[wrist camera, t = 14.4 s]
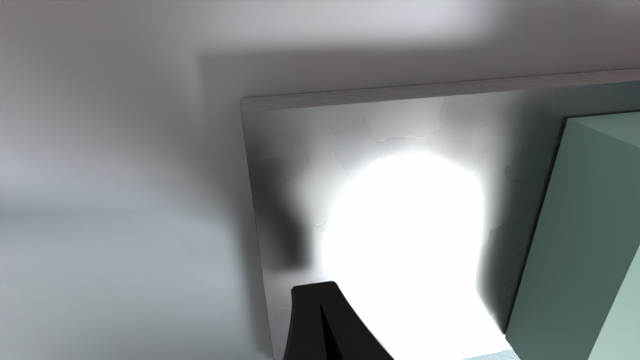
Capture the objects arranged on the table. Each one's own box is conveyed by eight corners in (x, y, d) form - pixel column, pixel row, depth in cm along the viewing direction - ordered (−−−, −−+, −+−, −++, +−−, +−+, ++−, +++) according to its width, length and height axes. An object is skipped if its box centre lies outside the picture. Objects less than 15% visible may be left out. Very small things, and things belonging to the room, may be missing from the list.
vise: (656, 294, 20) (773, 382, 15) (275, 361, 17) (286, 493, 12) (778, 57, 14) (1017, 89, 10) (241, 98, 11) (239, 168, 7)
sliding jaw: (585, 323, 17) (657, 394, 14) (504, 338, 16) (562, 415, 13) (675, 108, 12) (812, 146, 9) (567, 118, 12) (676, 162, 9)
